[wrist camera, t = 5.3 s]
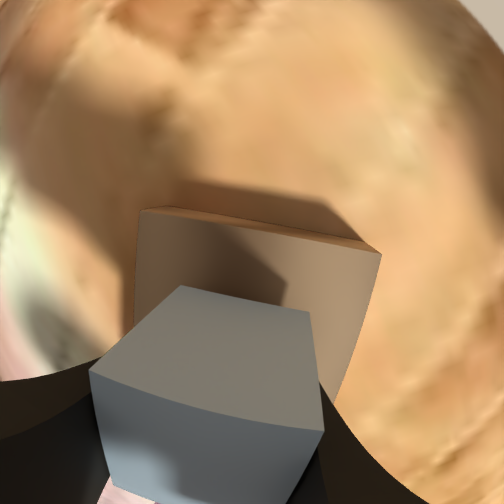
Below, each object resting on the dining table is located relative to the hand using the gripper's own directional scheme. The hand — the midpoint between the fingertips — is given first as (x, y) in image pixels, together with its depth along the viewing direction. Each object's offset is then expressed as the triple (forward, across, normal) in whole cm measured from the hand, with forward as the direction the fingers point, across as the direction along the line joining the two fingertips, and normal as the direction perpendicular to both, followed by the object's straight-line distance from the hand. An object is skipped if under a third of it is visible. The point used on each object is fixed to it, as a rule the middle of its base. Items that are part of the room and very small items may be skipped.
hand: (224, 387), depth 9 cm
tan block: (+6, 0, 0) cm, 6 cm away
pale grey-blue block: (+2, 0, 0) cm, 2 cm away
